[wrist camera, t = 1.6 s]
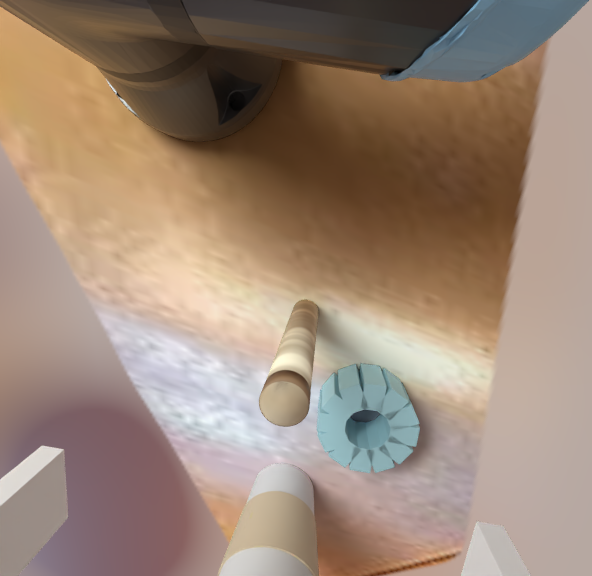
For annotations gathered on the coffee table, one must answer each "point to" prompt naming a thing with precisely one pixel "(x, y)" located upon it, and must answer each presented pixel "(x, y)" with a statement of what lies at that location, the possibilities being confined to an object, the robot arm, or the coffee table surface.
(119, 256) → the coffee table surface
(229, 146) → the coffee table surface
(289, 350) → the tan cylindrical rod
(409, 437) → the bead
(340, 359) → the coffee table surface
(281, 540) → the coffee cup
